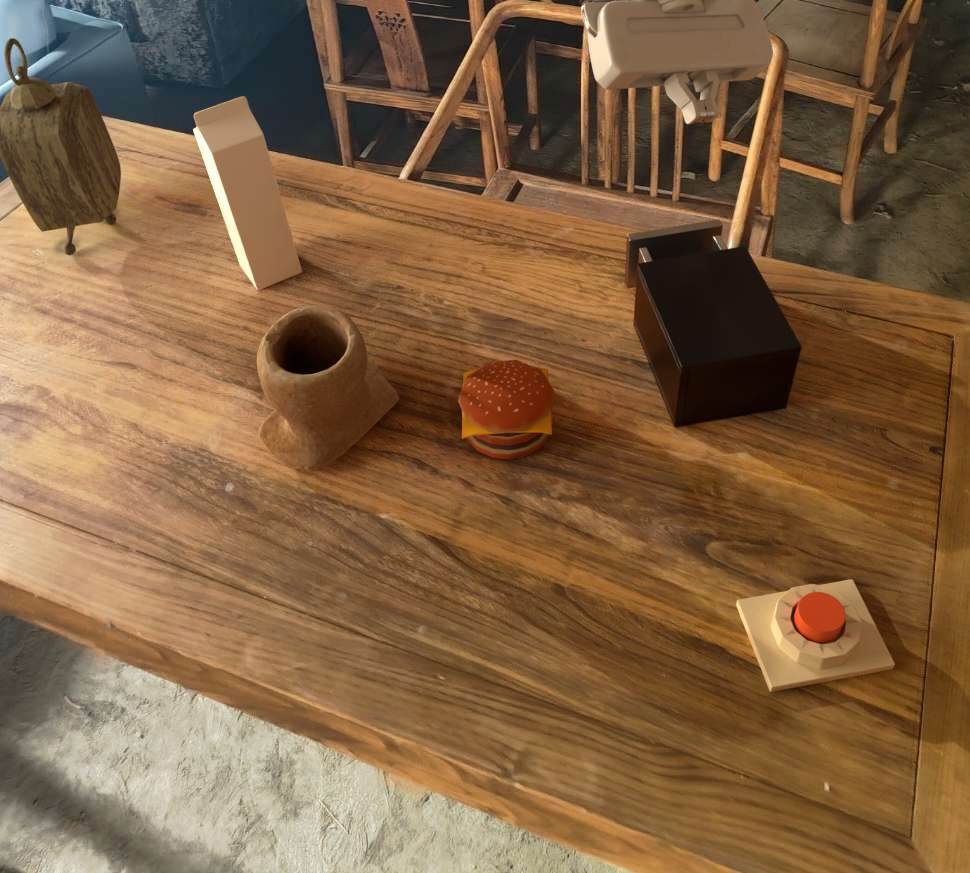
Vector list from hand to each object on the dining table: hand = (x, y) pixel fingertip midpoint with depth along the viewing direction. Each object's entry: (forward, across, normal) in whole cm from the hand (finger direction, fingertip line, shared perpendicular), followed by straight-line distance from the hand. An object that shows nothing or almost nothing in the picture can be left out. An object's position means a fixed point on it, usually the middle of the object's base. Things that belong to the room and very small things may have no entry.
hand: (703, 120), depth 92 cm
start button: (+47, -13, -10) cm, 50 cm away
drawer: (+16, +1, +12) cm, 20 cm away
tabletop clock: (-18, -53, +56) cm, 79 cm away
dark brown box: (+23, -1, +9) cm, 25 cm away
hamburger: (+24, -23, +15) cm, 36 cm away
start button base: (+49, -12, -8) cm, 51 cm away
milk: (-4, -36, +40) cm, 54 cm away
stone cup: (+19, -37, +23) cm, 48 cm away
